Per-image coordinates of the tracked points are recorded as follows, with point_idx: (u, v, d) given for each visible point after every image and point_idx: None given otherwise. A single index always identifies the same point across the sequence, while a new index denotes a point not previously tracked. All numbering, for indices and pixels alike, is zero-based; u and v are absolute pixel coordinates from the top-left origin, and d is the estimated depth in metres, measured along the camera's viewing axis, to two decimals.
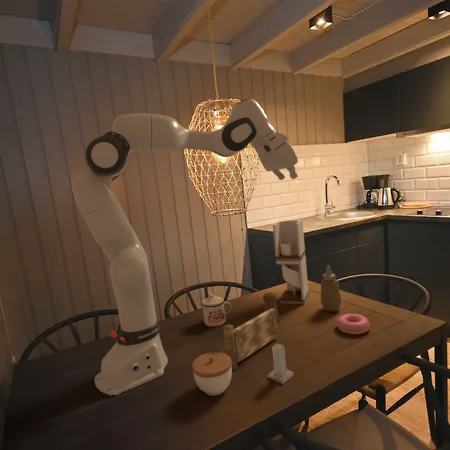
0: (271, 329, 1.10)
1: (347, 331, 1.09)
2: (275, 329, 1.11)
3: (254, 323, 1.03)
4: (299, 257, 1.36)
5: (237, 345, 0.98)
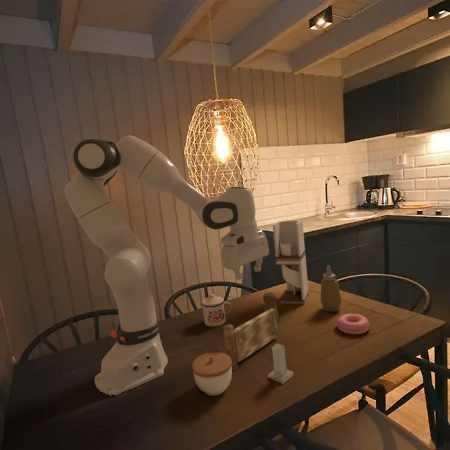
0: (271, 329, 1.10)
1: (347, 331, 1.09)
2: (275, 329, 1.11)
3: (254, 323, 1.03)
4: (299, 257, 1.36)
5: (237, 345, 0.98)
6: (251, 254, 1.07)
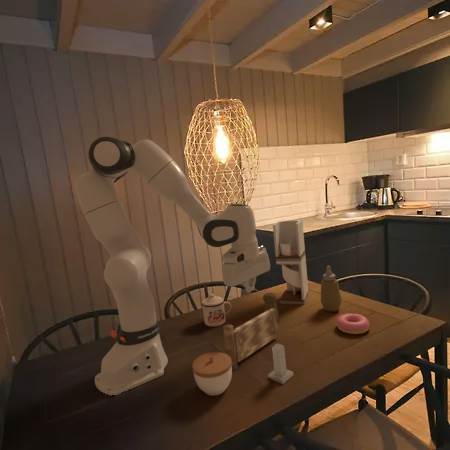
0: (271, 329, 1.10)
1: (347, 331, 1.09)
2: (275, 329, 1.11)
3: (254, 323, 1.03)
4: (299, 257, 1.36)
5: (237, 345, 0.98)
6: (252, 270, 1.08)
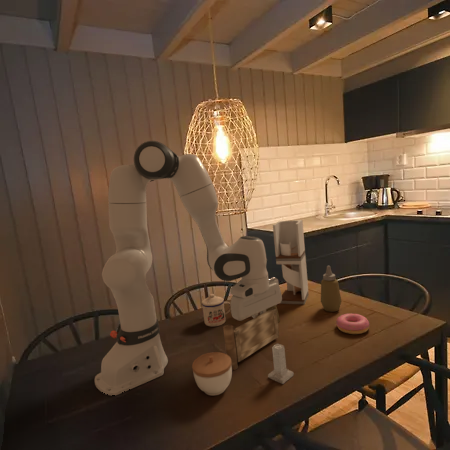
0: (272, 329, 1.09)
1: (347, 331, 1.09)
2: (276, 329, 1.10)
3: (254, 323, 1.03)
4: (299, 257, 1.36)
5: (237, 345, 0.98)
6: (261, 303, 1.07)
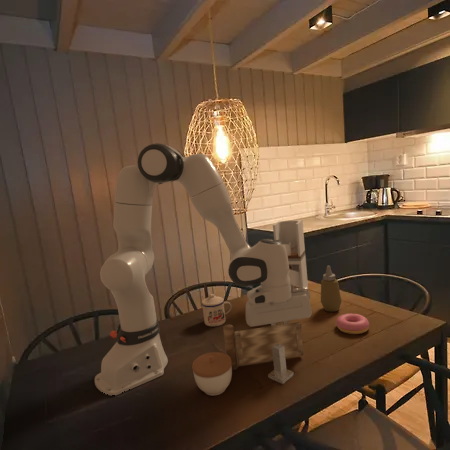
0: (293, 344, 0.98)
1: (346, 331, 1.09)
2: (299, 346, 0.98)
3: (264, 332, 0.96)
4: (299, 257, 1.36)
5: (237, 347, 0.96)
6: (280, 314, 0.97)
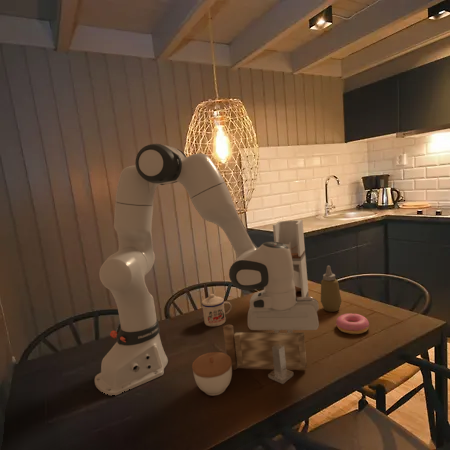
0: (296, 356, 0.92)
1: (346, 331, 1.09)
2: (301, 358, 0.91)
3: (264, 337, 0.93)
4: (299, 257, 1.36)
5: (236, 349, 0.95)
6: (283, 321, 0.92)
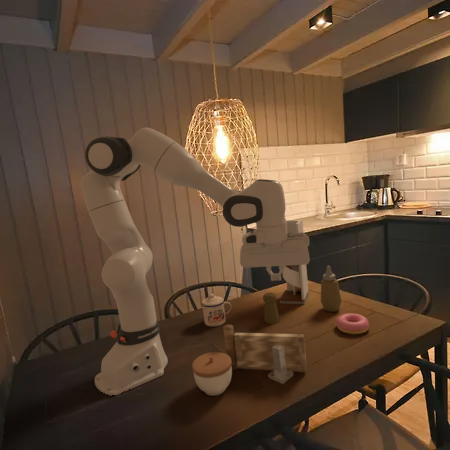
0: (295, 357, 0.91)
1: (346, 331, 1.09)
2: (301, 360, 0.90)
3: (264, 338, 0.93)
4: None
5: (236, 349, 0.95)
6: (274, 257, 0.93)
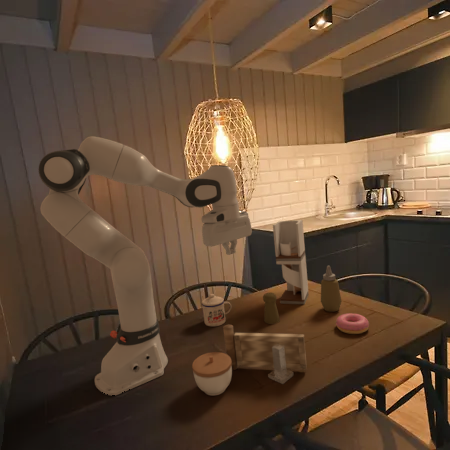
0: (295, 357, 0.91)
1: (345, 330, 1.09)
2: (301, 360, 0.90)
3: (264, 338, 0.93)
4: (299, 257, 1.36)
5: (236, 349, 0.95)
6: (232, 232, 1.08)
